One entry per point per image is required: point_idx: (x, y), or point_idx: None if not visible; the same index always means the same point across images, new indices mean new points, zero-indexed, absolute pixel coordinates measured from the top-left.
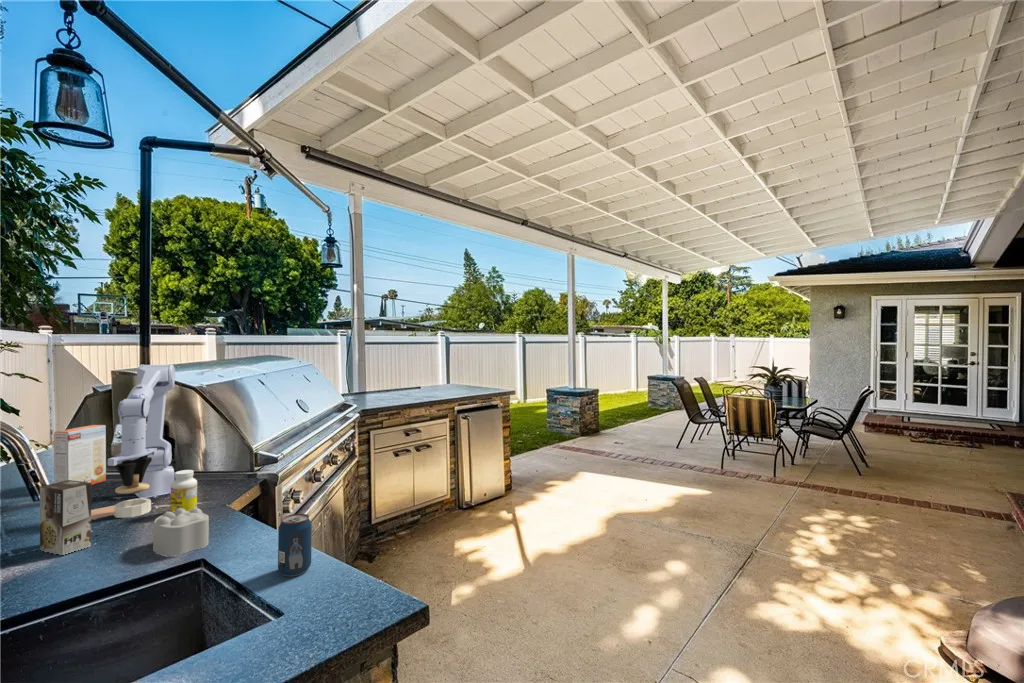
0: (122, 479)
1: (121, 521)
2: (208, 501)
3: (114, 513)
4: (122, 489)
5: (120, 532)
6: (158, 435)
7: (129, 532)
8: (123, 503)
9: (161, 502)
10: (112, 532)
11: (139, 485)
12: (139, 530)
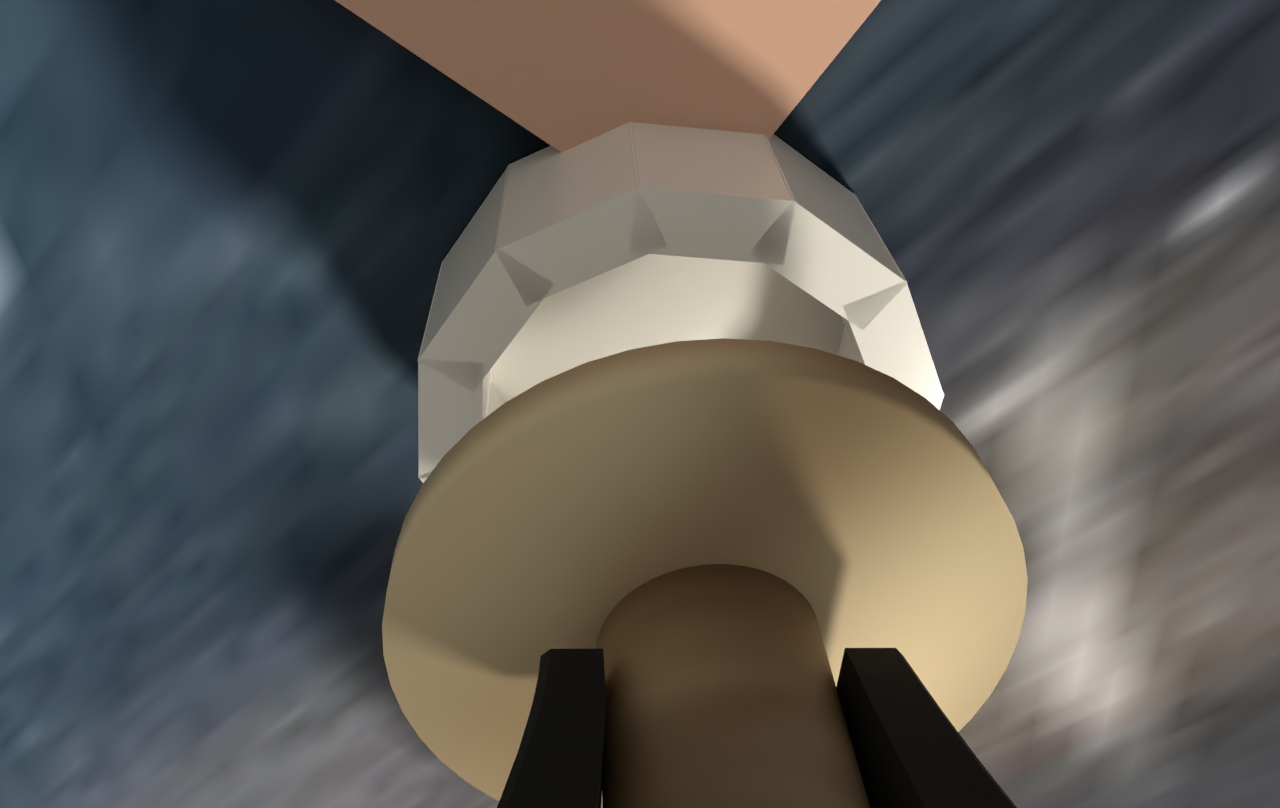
0: (511, 782)
1: (391, 398)
2: (1157, 769)
3: (487, 216)
4: (479, 618)
5: (97, 653)
6: None
7: (134, 723)
8: (691, 250)
9: (1234, 304)
10: (60, 584)
11: (838, 673)
12: (213, 761)
